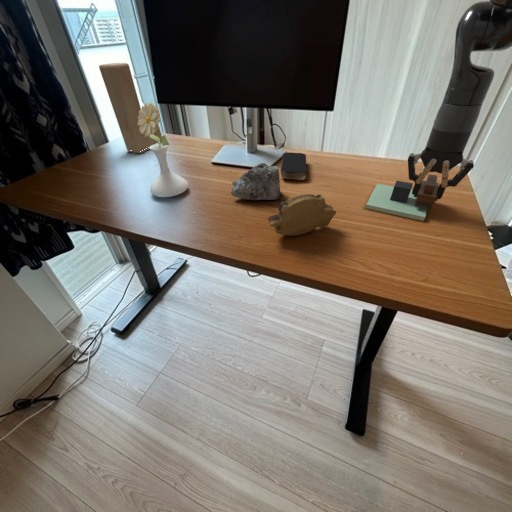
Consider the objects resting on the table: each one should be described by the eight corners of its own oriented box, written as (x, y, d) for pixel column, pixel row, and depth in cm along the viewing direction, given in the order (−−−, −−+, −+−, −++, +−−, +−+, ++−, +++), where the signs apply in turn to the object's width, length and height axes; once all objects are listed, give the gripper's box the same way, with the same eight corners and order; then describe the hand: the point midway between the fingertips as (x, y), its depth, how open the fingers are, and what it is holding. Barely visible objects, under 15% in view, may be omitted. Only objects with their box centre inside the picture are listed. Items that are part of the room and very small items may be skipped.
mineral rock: (229, 200, 78) (226, 166, 71) (247, 185, 85) (245, 153, 78) (270, 209, 73) (270, 174, 66) (285, 192, 80) (286, 159, 74)
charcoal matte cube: (408, 197, 73) (413, 183, 70) (406, 203, 70) (411, 189, 68) (392, 194, 75) (396, 180, 72) (389, 200, 72) (394, 186, 70)
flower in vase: (147, 190, 85) (118, 100, 68) (181, 180, 89) (161, 94, 73) (159, 207, 76) (129, 108, 60) (197, 195, 80) (178, 101, 64)
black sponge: (282, 162, 98) (282, 152, 96) (305, 162, 97) (306, 152, 95) (279, 181, 86) (280, 170, 84) (306, 182, 85) (307, 171, 83)
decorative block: (141, 154, 110) (113, 65, 91) (127, 152, 113) (97, 65, 93) (164, 142, 121) (143, 60, 101) (150, 141, 123) (128, 60, 104)
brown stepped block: (431, 209, 66) (440, 188, 62) (413, 206, 68) (421, 185, 64) (434, 194, 72) (442, 174, 68) (417, 191, 74) (424, 172, 70)
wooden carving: (324, 219, 68) (329, 182, 62) (334, 228, 65) (341, 190, 59) (264, 235, 64) (264, 197, 57) (273, 246, 61) (273, 207, 54)
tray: (428, 197, 75) (430, 193, 74) (423, 221, 66) (425, 217, 65) (376, 187, 81) (377, 183, 80) (365, 208, 72) (366, 204, 71)
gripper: (414, 127, 59) (393, 198, 70) (494, 133, 53) (457, 210, 64) (418, 119, 64) (397, 187, 75) (491, 124, 58) (457, 197, 69)
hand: (425, 197), depth 69 cm, fingers closed on brown stepped block, 4 cm apart
